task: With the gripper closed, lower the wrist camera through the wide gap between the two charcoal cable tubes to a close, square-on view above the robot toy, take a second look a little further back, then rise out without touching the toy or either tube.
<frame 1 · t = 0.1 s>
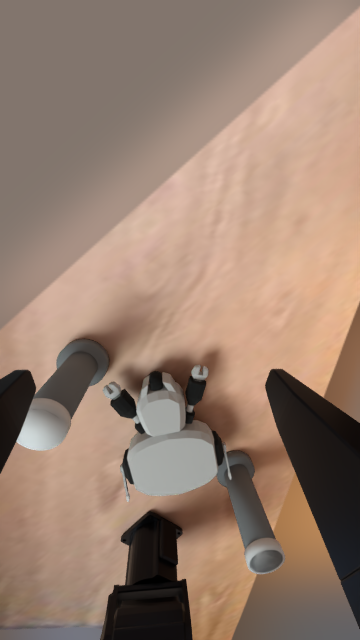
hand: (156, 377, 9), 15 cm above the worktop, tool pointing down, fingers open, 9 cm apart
tube 2: (85, 360, 25), on the worktop
tube 1: (233, 465, 31), on the worktop
robot toy: (167, 416, 28), on the worktop
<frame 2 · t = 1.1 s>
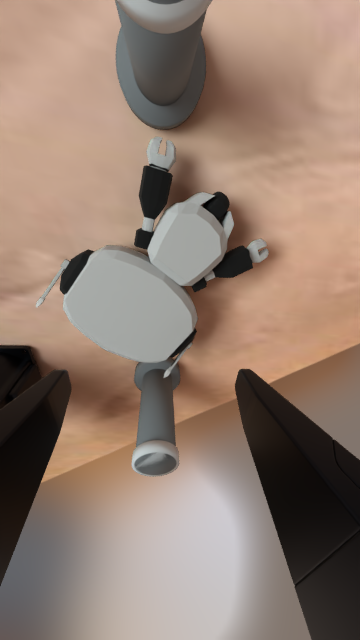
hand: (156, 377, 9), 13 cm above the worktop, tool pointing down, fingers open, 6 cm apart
tube 2: (161, 76, 14), on the worktop
tube 1: (157, 371, 26), on the worktop
robot toy: (158, 267, 20), on the worktop
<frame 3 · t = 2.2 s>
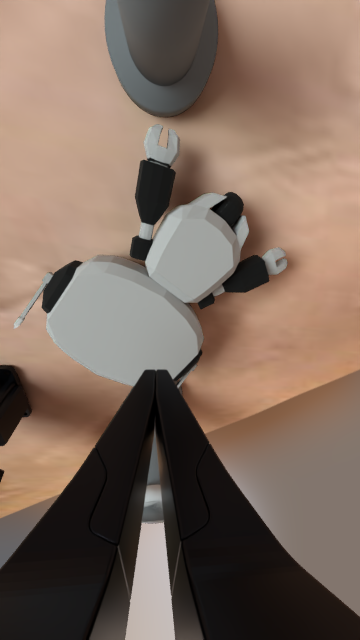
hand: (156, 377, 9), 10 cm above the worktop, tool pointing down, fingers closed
tube 2: (162, 50, 11), on the worktop
tube 1: (157, 391, 23), on the worktop
robot toy: (159, 279, 18), on the worktop
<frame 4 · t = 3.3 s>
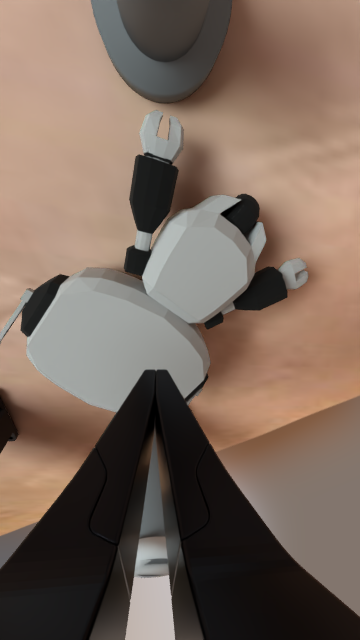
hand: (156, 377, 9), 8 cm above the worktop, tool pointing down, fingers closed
tube 2: (162, 18, 9), on the worktop
tube 1: (157, 412, 21), on the worktop
robot toy: (158, 292, 15), on the worktop
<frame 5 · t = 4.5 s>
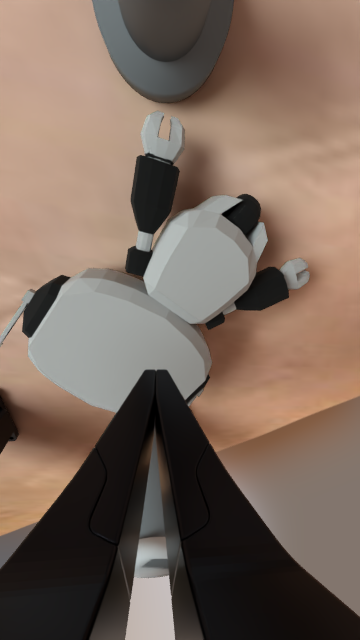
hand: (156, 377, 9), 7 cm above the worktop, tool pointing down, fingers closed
tube 2: (163, 17, 9), on the worktop
tube 1: (157, 412, 21), on the worktop
robot toy: (159, 293, 15), on the worktop
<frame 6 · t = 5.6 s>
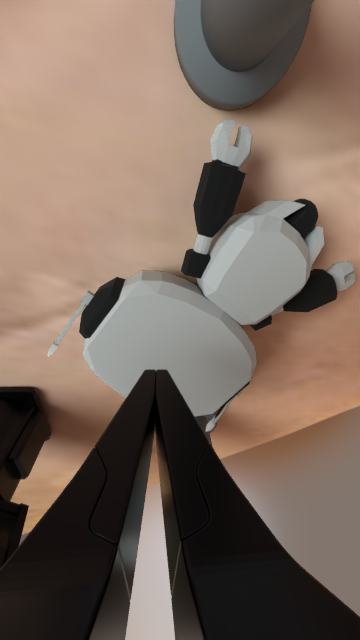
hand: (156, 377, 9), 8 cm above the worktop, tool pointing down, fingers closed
tube 2: (234, 29, 9), on the worktop
robot toy: (201, 294, 16), on the worktop
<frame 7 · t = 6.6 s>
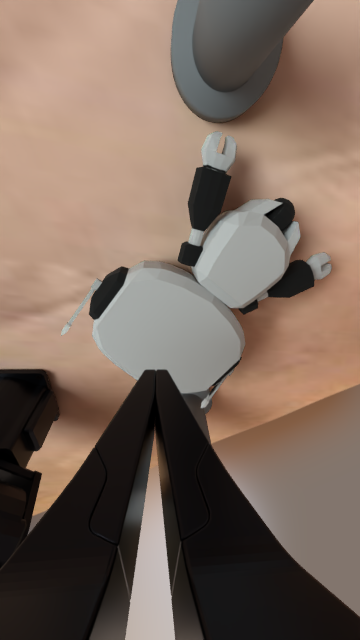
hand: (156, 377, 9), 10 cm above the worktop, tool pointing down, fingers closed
tube 2: (221, 56, 11), on the worktop
tube 1: (185, 395, 23), on the worktop
robot toy: (196, 284, 18), on the worktop
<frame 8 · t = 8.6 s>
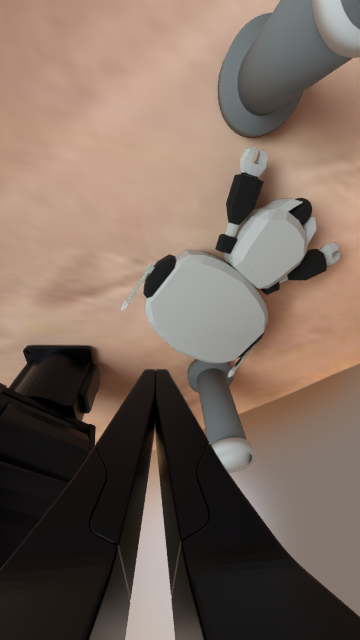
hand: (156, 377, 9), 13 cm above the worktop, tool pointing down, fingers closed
tube 2: (257, 87, 14), on the worktop
tube 1: (209, 371, 26), on the worktop
robot toy: (225, 271, 21), on the worktop
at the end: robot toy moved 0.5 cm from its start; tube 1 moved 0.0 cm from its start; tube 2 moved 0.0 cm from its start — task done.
